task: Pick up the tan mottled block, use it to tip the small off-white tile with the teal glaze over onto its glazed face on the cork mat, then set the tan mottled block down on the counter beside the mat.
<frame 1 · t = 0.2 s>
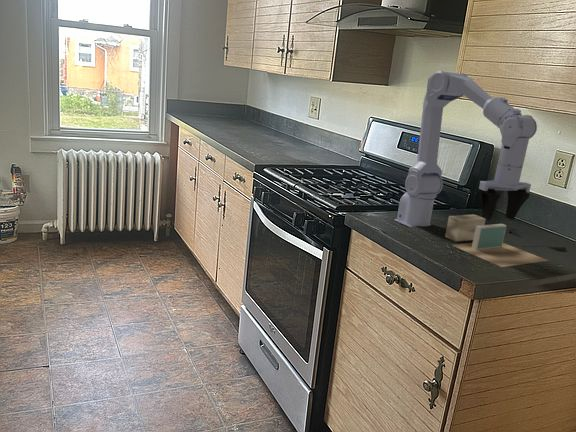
hand: (498, 218, 137), 10 cm above the countertop, fingers open, 7 cm apart
cork mat: (498, 256, 140), on the countertop
bracket: (526, 244, 157), on the countertop
tan mottled block: (462, 241, 150), on the countertop
tile: (486, 247, 143), point 1 cm above the countertop, touching cork mat
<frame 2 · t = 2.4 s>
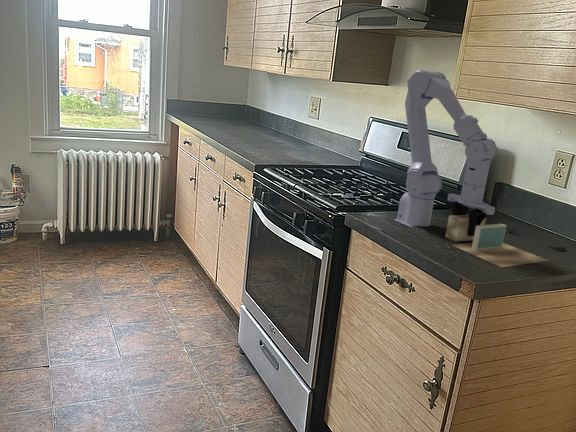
hand: (464, 233, 149), 2 cm above the countertop, fingers closed on tan mottled block, 4 cm apart
tan mottled block: (462, 241, 150), on the countertop, touching gripper
everything else where it was.
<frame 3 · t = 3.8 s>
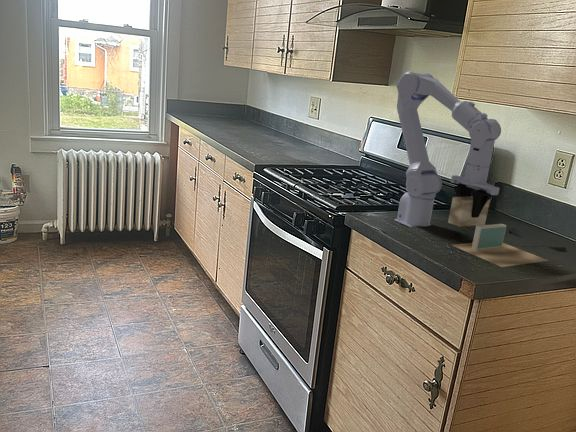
hand: (468, 214, 148), 8 cm above the countertop, fingers closed on tan mottled block, 4 cm apart
tan mottled block: (466, 223, 149), point 5 cm above the countertop, touching gripper
everything else where it was.
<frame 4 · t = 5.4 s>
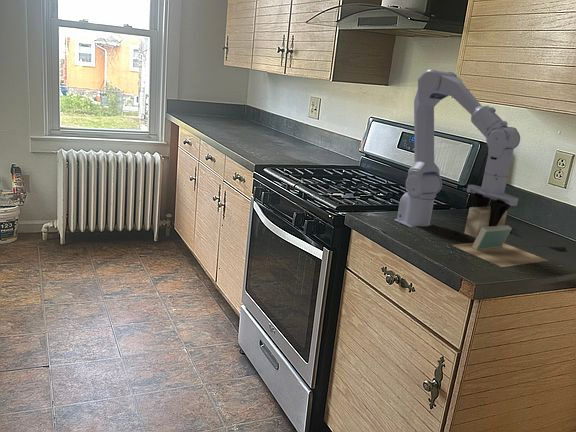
hand: (485, 225, 143), 6 cm above the countertop, fingers closed on tan mottled block, 4 cm apart
tan mottled block: (483, 234, 144), point 4 cm above the countertop, touching gripper
tile: (487, 246, 143), point 1 cm above the countertop, tilted 17°, touching cork mat
everything else where it was.
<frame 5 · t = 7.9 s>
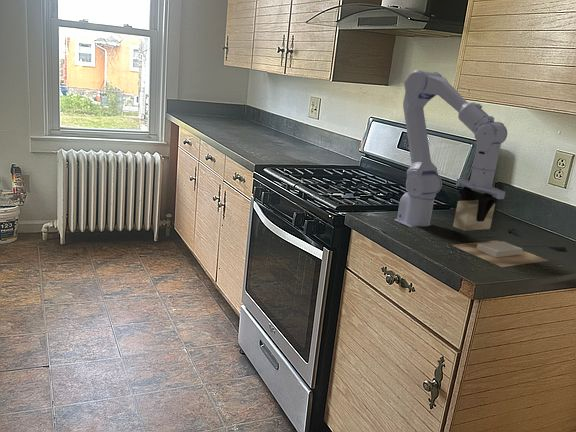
hand: (473, 218, 146), 7 cm above the countertop, fingers closed on tan mottled block, 4 cm apart
tan mottled block: (471, 227, 147), point 5 cm above the countertop, touching gripper
tile: (490, 245, 142), point 2 cm above the countertop, tilted 90°, touching cork mat
everything else where it was.
when the fingers open (4 cm above the countertop, at t = 10.2 s): tan mottled block drops 1 cm, on the countertop.
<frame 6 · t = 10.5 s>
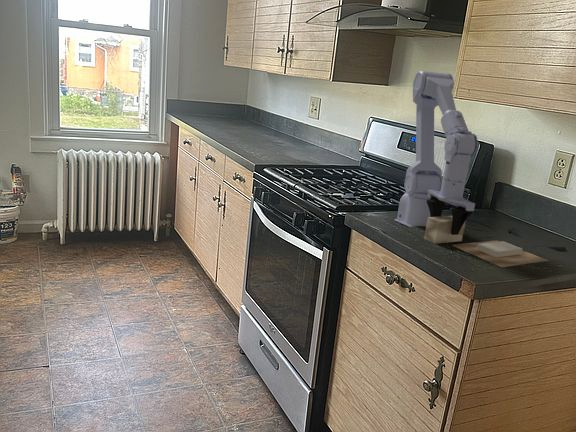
hand: (444, 230, 145), 4 cm above the countertop, fingers open, 7 cm apart
tan mottled block: (442, 243, 146), on the countertop
everything else where it was.
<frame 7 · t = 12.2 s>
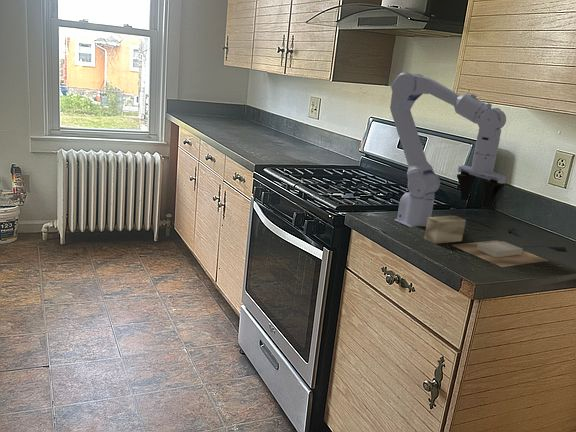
hand: (475, 203, 149), 10 cm above the countertop, fingers open, 7 cm apart
nothing on the countertop moved.
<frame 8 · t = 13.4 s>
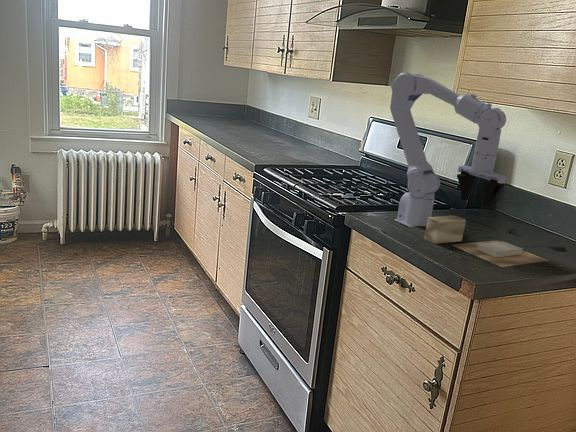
hand: (475, 203, 149), 10 cm above the countertop, fingers open, 7 cm apart
nothing on the countertop moved.
at the end: tile tilted 90°; tile inside the target area (1.2 cm from its centre), point 1.9 cm above the countertop; tan mottled block inside the target area (0.2 cm from its centre), on the countertop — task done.
